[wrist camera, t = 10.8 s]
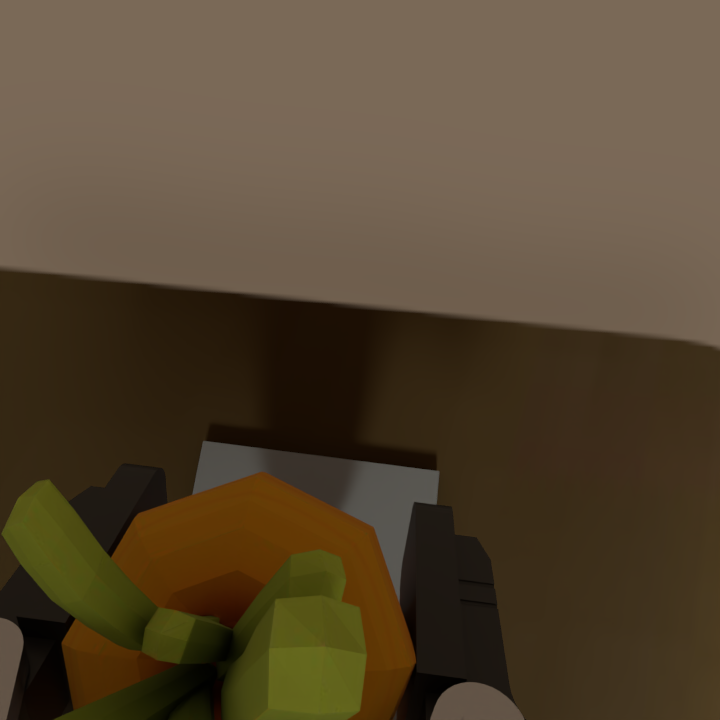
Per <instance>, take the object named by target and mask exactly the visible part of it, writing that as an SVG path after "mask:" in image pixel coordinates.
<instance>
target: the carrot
mask: <svg viewBox="0 0 720 720" xmlns="http://www.w3.org/2000/svg"><path fill="white" fill-rule="evenodd" d="M2 536H3V537H4V539H5V540H6V542H7V544H8V545H9V547H10V548H11V550H12V551H13V553H14V554H15V556H16V558H17V559H18V561H19V562H20V564H21V565H22V567H23V568H24V569H25V570H26V571H27V572H28V574H29V575H30V576H31V577H32V578H33V579H34V581H35V582H36V583H37V584H38V585H39V586H40V588H41V589H42V590H43V591H44V592H45V593H46V595H47V596H48V597H49V598H50V599H51V600H52V601H53V602H55V603H56V604H57V605H59V606H60V607H61V608H63V609H64V610H65V611H67V612H68V613H69V614H71V615H72V616H73V617H74V618H76V619H75V621H74V622H73V624H72V626H71V627H70V629H69V631H68V633H67V634H66V636H65V638H64V639H63V641H62V643H61V644H62V650H63V655H64V661H65V666H66V672H67V677H68V682H69V688H70V693H71V699H72V704H73V710H74V711H71V712H69V713H67V714H65V715H62V716H60V717H58V718H56V719H53V720H393V718H394V716H395V713H396V711H397V709H398V706H399V704H400V701H401V699H402V697H403V694H404V692H405V689H406V687H407V685H408V682H409V680H410V677H411V675H412V673H413V670H414V668H415V665H416V654H415V650H414V645H413V642H412V639H411V636H410V633H409V630H408V627H407V624H406V621H405V618H404V615H403V612H402V610H401V607H400V604H399V601H398V598H397V595H396V592H395V589H394V586H393V583H392V580H391V577H390V574H389V571H388V568H387V565H386V562H385V559H384V556H383V553H382V550H381V547H380V544H379V541H378V538H377V535H376V532H375V529H374V527H372V526H370V525H369V524H367V523H365V522H363V521H361V520H359V519H357V518H355V517H353V516H351V515H349V514H347V513H345V512H343V511H341V510H339V509H337V508H335V507H333V506H331V505H329V504H327V503H325V502H323V501H321V500H319V499H317V498H315V497H313V496H311V495H309V494H307V493H305V492H303V491H301V490H299V489H298V488H296V487H294V486H292V485H290V484H288V483H286V482H284V481H282V480H280V479H278V478H276V477H274V476H272V475H270V474H268V473H266V472H259V473H256V474H253V475H250V476H247V477H244V478H241V479H238V480H235V481H232V482H229V483H226V484H223V485H220V486H217V487H214V488H212V489H209V490H206V491H203V492H200V493H197V494H194V495H191V496H188V497H185V498H182V499H179V500H176V501H173V502H170V503H167V504H164V505H161V506H158V507H155V508H152V509H150V510H147V511H144V512H141V513H138V514H137V516H136V517H135V518H134V519H133V521H132V523H131V524H130V526H129V528H128V530H127V531H126V533H125V535H124V536H123V538H122V540H121V542H120V543H119V545H118V547H117V548H116V550H115V552H114V554H113V555H112V557H111V558H110V556H109V555H108V554H107V553H106V552H105V551H104V550H103V548H102V547H101V545H100V544H99V543H98V541H97V540H96V539H95V537H94V536H93V534H92V533H91V532H90V530H89V529H88V528H87V526H86V525H85V524H84V522H83V521H82V519H81V518H80V517H79V515H78V514H77V513H76V511H75V510H74V509H73V507H72V506H71V505H70V504H69V503H68V501H67V500H66V499H65V498H64V497H63V496H62V494H61V493H60V492H59V491H58V490H57V488H56V487H55V486H54V485H53V484H52V482H51V481H50V480H49V479H48V480H43V481H37V482H36V483H35V484H34V485H33V486H31V487H30V488H29V489H28V490H27V491H26V492H24V493H23V494H22V495H21V496H20V497H19V498H18V500H17V502H16V504H15V506H14V508H13V510H12V512H11V514H10V516H9V519H8V521H7V523H6V525H5V527H4V530H3V532H2Z"/></svg>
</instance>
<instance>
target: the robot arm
mask: <svg viewBox="0 0 720 720" xmlns="http://www.w3.org/2000/svg"><path fill="white" fill-rule="evenodd" d="M68 503H69V504H70V505H71V506H72V507H73V509H74V510H75V511H76V513H77V514H78V515H79V517H80V518H81V519H82V521H83V522H84V524H85V525H86V526H87V528H88V529H89V530H90V532H91V533H92V534H93V536H94V537H95V539H96V540H97V541H98V543H99V544H100V545H101V547H102V548H103V550H104V551H105V552H106V553H107V554H108V555H109V556H110V558H111V557H112V555H113V554H114V552H115V550H116V548H117V547H118V545H119V543H120V542H121V540H122V538H123V536H124V535H125V533H126V531H127V530H128V528H129V526H130V524H131V523H132V521H133V519H134V518H135V517H136V516H137V514H138V513H141V512H144V511H147V510H150V509H152V508H155V507H158V506H161V505H164V504H167V493H166V478H165V472H164V470H163V469H162V468H156V467H149V466H141V465H133V464H122V465H121V466H120V467H119V468H118V470H117V471H116V473H115V474H114V475H113V477H112V478H111V480H110V481H109V483H108V484H107V486H106V487H105V488H101V487H93V486H91V487H89V488H88V489H86V490H85V491H83V492H82V493H80V494H79V495H78V496H76V497H75V498H73V499H72V500H70V501H69V502H68ZM399 604H400V607H401V610H402V612H403V615H404V618H405V621H406V624H407V627H408V630H409V633H410V636H411V639H412V642H413V645H414V650H415V654H416V665H415V668H414V670H413V673H412V675H411V677H410V680H409V682H408V685H407V687H406V689H405V692H404V694H403V697H402V699H401V701H400V704H399V706H398V709H397V720H526V719H525V718H524V717H523V715H522V714H521V712H520V711H519V709H518V707H517V706H516V704H515V702H514V699H513V697H512V694H511V690H510V686H509V680H508V673H507V666H506V660H505V653H504V646H503V640H502V633H501V626H500V620H499V613H498V609H497V600H496V593H495V589H494V580H493V573H492V566H491V560H490V558H489V557H488V555H487V553H486V552H485V550H484V549H483V547H482V546H481V544H480V542H479V541H478V539H477V538H476V537H468V536H461V535H455V533H454V522H453V511H452V507H450V506H442V505H435V504H427V503H419V502H414V504H413V507H412V513H411V518H410V523H409V529H408V534H407V539H406V545H405V550H404V555H403V561H402V569H401V579H400V603H399ZM75 619H76V618H74V617H73V616H72V615H71V614H69V613H68V612H67V611H65V610H64V609H63V608H61V607H60V606H59V605H57V604H56V603H55V602H53V601H52V600H51V599H50V598H49V597H48V596H47V595H46V593H45V592H44V591H43V590H42V589H41V588H40V586H39V585H38V584H37V583H36V582H35V581H34V579H33V578H32V577H31V576H30V575H29V574H28V572H27V571H26V570H25V569H24V568H23V567H22V565H20V566H19V567H18V569H17V570H16V571H15V573H14V574H13V575H12V577H11V578H10V579H9V581H8V582H7V583H6V585H5V586H4V587H3V589H2V590H1V591H0V720H53V719H56V718H58V717H60V716H62V715H65V714H67V713H69V712H71V711H74V710H73V704H72V699H71V693H70V688H69V682H68V677H67V672H66V666H65V661H64V655H63V650H62V644H61V643H62V641H63V639H64V638H65V636H66V634H67V633H68V631H69V629H70V627H71V626H72V624H73V622H74V621H75Z"/></svg>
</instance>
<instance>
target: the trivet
mask: <svg viewBox="0 0 720 720" xmlns="http://www.w3.org/2000/svg"><path fill="white" fill-rule="evenodd" d="M259 472H266V473H268V474H270V475H272V476H274V477H276V478H278V479H280V480H282V481H284V482H286V483H288V484H290V485H292V486H294V487H296V488H298V489H299V490H301V491H303V492H305V493H307V494H309V495H311V496H313V497H315V498H317V499H319V500H321V501H323V502H325V503H327V504H329V505H331V506H333V507H335V508H337V509H339V510H341V511H343V512H345V513H347V514H349V515H351V516H353V517H355V518H357V519H359V520H361V521H363V522H365V523H367V524H369V525H370V526H372V527H374V529H375V532H376V535H377V538H378V541H379V544H380V547H381V550H382V553H383V556H384V559H385V562H386V565H387V568H388V571H389V574H390V577H391V580H392V583H393V586H394V589H395V592H396V595H397V598H398V601H399V603H400V579H401V569H402V561H403V555H404V550H405V545H406V539H407V534H408V529H409V523H410V518H411V513H412V507H413V504H414V502H419V503H427V504H435V505H436V504H437V493H438V481H439V471H434V470H426V469H418V468H410V467H403V466H395V465H387V464H379V463H372V462H364V461H356V460H348V459H341V458H333V457H325V456H317V455H310V454H302V453H294V452H286V451H279V450H271V449H263V448H255V447H248V446H240V445H232V444H224V443H217V442H209V441H203V444H202V449H201V454H200V459H199V464H198V469H197V474H196V479H195V484H194V489H193V494H192V495H194V494H197V493H200V492H203V491H206V490H209V489H212V488H214V487H217V486H220V485H223V484H226V483H229V482H232V481H235V480H238V479H241V478H244V477H247V476H250V475H253V474H256V473H259ZM393 720H397V711H396V713H395V716H394V718H393Z"/></svg>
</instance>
